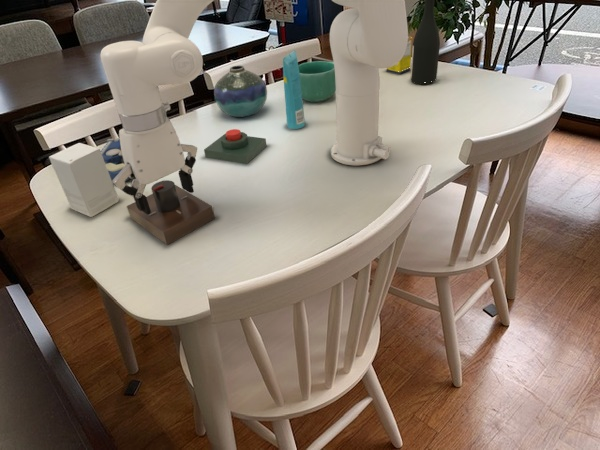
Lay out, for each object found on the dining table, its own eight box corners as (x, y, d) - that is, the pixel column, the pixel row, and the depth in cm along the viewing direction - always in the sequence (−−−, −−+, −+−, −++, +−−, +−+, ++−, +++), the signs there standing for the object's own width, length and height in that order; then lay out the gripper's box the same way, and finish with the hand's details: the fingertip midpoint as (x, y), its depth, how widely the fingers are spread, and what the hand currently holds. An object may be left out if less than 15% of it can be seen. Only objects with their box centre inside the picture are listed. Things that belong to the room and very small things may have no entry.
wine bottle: (405, 82, 146) (411, -23, 129) (421, 75, 150) (429, -27, 133) (424, 87, 141) (434, -21, 124) (441, 81, 145) (452, -26, 127)
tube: (292, 120, 128) (285, 49, 117) (308, 121, 126) (303, 49, 115) (283, 131, 122) (275, 58, 111) (300, 132, 121) (294, 58, 109)
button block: (266, 146, 115) (264, 131, 113) (247, 164, 108) (244, 149, 106) (226, 140, 120) (224, 126, 117) (205, 157, 112) (202, 142, 110)
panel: (215, 218, 90) (212, 205, 88) (167, 245, 84) (163, 231, 82) (176, 195, 98) (173, 182, 97) (130, 218, 92) (126, 205, 91)
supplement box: (397, 67, 160) (398, 34, 153) (410, 70, 156) (412, 36, 149) (385, 71, 157) (386, 38, 150) (399, 74, 153) (401, 40, 146)
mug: (319, 108, 133) (317, 76, 128) (288, 100, 140) (285, 70, 135) (352, 91, 143) (352, 60, 138) (321, 85, 150) (320, 55, 145)
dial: (172, 197, 92) (166, 176, 89) (184, 204, 89) (178, 183, 87) (153, 206, 89) (146, 185, 87) (165, 214, 87) (158, 193, 84)
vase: (212, 110, 139) (203, 66, 131) (259, 99, 143) (254, 56, 136) (225, 127, 127) (217, 80, 119) (276, 115, 131) (271, 69, 124)
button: (244, 136, 112) (243, 129, 111) (236, 142, 110) (235, 135, 109) (231, 134, 114) (230, 128, 113) (224, 140, 111) (222, 134, 110)
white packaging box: (120, 201, 98) (101, 148, 91) (90, 218, 93) (68, 163, 86) (99, 193, 102) (79, 141, 95) (70, 209, 97) (46, 156, 90)
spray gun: (168, 143, 121) (113, 148, 122) (163, 128, 118) (108, 133, 119) (146, 185, 104) (82, 189, 105) (140, 169, 101) (75, 174, 102)
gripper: (174, 98, 86) (193, 177, 96) (86, 129, 76) (118, 213, 86) (196, 106, 81) (214, 188, 91) (106, 141, 72) (137, 228, 82)
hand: (167, 200), depth 89 cm, fingers open, 9 cm apart
